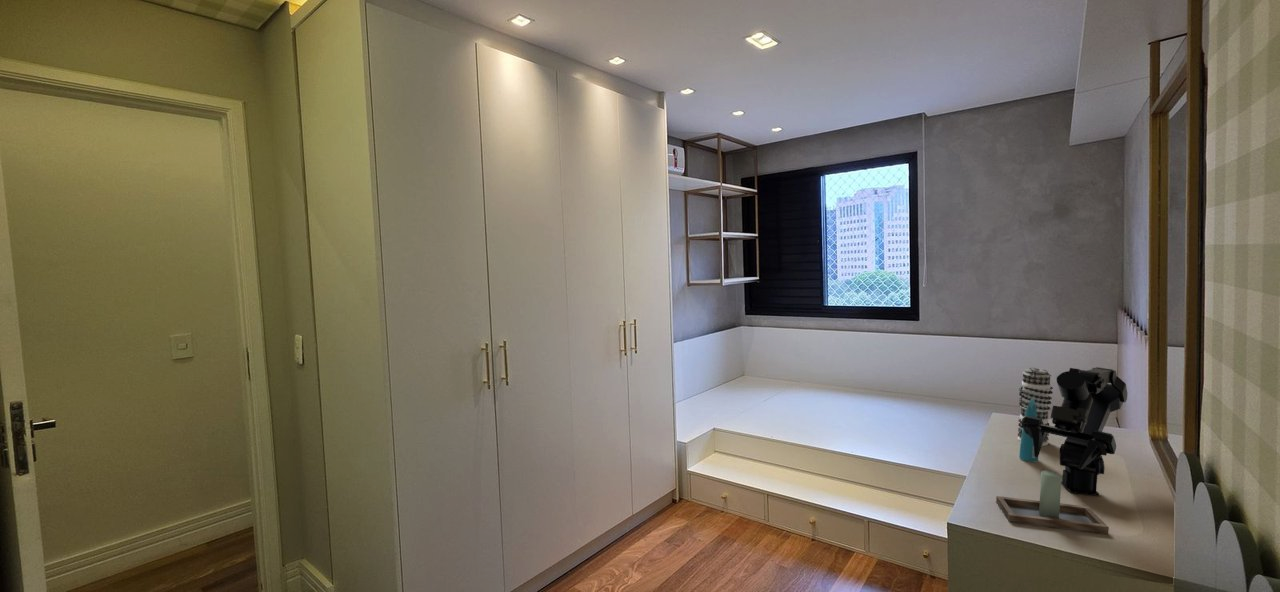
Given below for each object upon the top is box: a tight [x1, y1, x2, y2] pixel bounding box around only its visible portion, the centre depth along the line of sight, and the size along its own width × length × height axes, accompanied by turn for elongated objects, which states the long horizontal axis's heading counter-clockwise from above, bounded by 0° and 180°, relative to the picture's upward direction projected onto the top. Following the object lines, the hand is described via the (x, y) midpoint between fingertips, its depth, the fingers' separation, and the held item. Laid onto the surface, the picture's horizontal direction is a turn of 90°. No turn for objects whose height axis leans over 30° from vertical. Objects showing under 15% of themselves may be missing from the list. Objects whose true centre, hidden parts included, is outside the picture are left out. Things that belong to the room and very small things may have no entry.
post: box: [1039, 470, 1063, 519], centre depth 135 cm, size 4×4×11 cm
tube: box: [1019, 397, 1039, 463], centre depth 169 cm, size 7×5×19 cm, turn 140°
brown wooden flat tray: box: [995, 495, 1110, 535], centre depth 135 cm, size 20×10×2 cm, turn 72°
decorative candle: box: [1017, 367, 1054, 447], centre depth 184 cm, size 9×9×25 cm
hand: (1057, 462), depth 136 cm, fingers open, 9 cm apart
